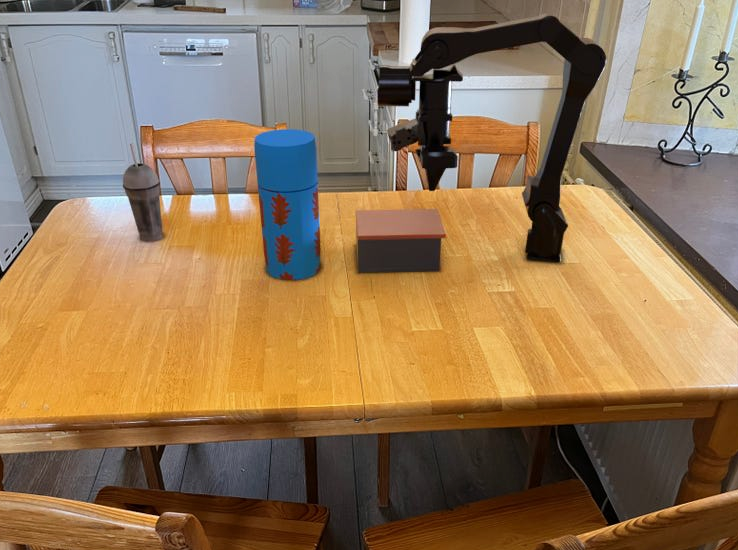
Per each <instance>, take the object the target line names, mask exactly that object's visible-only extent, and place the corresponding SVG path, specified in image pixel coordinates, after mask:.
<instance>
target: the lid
mask: <svg viewBox="0 0 738 550" xmlns="http://www.w3.org/2000/svg"><path fill="white" fill-rule="evenodd" d="M356 222H357V235H358V240H364V239H424V238H441V239H446V237H447V233H446V231H445V228H444V224H443V221H442V219H441V216H440V212H439V210H438V208H418V209H417V208H416V209H415V208H412V209H356V210H355V223H356Z"/></svg>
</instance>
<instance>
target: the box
mask: <svg viewBox="0 0 738 550" xmlns="http://www.w3.org/2000/svg"><path fill="white" fill-rule="evenodd" d="M355 246H356V260H357V273H358V274H368V273H369V274H371V273H375V274H376V273H417V272H419V273H421V272H440V266H441V253H442V252H441V250H442V238H424V239H364V240H358V235H357V222H356V221H355Z"/></svg>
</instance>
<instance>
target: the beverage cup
mask: <svg viewBox="0 0 738 550" xmlns="http://www.w3.org/2000/svg"><path fill="white" fill-rule="evenodd" d="M129 146H130V149H131V150H130V151H131V155H132V160H133V163H134V164H131V165H130V166H128V167H127V168H126V169H125V171H124V173H123V176H122V188H123V190H124V192H125V195H126V197H127V199H128V203H129V205H130V208H131V212H132V215H133V218H134V222H135V226H136V229H137V232H138V234H139V238H140V241H143V242H155V241H158V240H160V239H162V238H163V222H162V211H161V210H162V209H161V200H160V190H161V189H160V187H161V185H160V184H161V182H160V180H159V177H158V174H157V173H156V171H155V170H154V169H153V168H152V167H150V166H149V165H147V164H145V163H141V162H140V163H138V161H137V157H136V153H135V149H134V144H133V143H131V142H130V143H129Z"/></svg>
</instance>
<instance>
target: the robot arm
mask: <svg viewBox="0 0 738 550" xmlns="http://www.w3.org/2000/svg"><path fill="white" fill-rule="evenodd" d="M537 43H546V44H547V45H549V47H551V48H552V49H553V50H554V51H555V52H557V53H558V54H559V55H560V56H561V57H562V58H563V59H564V62H563V69H562V88H561V89H562V90H561V96H560V99H559V103H558V105H557V110H556V112H555V116H554V120H553V123H552V126H551V129H550V134H549V137H548V140H547V143H546V147H545V150H544V154H543V157H542V161H541V163H540V164H541V165H540V166H539V169H538V171H537V172H536V173H535V175H534V176H532V175H530V174H528V175H527V176H526V181H525V187H524V189H523V191H522V192H521V196H522V201H523V203H524V207H525V210H526V213H527V217H528V218H529V220H530V221H531V227H530V228H529V229H528V228H527V234H526V242H525V249H524V252H525V254H526V260H529V261H538V262H548V263H556V264H557V263H561V261H562V249H563V248H562V247H563V242H564V236H565V233H566V231H567V229H568V228H569V224H568V222H567V219H566V217H565V214H564V211H563V208H562V207H561V206H560V202H561V193H562V192H561V191H562V176H563V173H564V169H565V166H566V163H567V160H568V157H569V154H570V150H571V148H572V145H573V141H574V138H575V134H576V132H577V129H578V125H579V122H580V118H581V115H582V112H583V109H584V106H585V103H586V100H587V99H588V97H589V96H590V94H591V93H592V92H593V90H594V89H595V87H596V85H597V84H598V82H599V80H600V78H601V76H602V74H603V72H604V70H605V68H606V64H607V55H606V52H605V51H604V49H603V48H602V46H600V45H599V44H598V43H597V42H596V41H595V40H594V39H593V38H590V37H579V36H577V35H576V34H575V33H574V32H573V31H572V30H571V29H570V28H568V27H567V26H566V25H565V24H563V23H562V22H561V20H559V18H558V17H557V16H556V15H555V14H554V13H551V12H543V13H541V14H539V15H537V16H531V17H526V18H520V19H515V20H510V21H504V22H499V23H494V24H489V25H484V26H478V27H471V28H470V27H469V28H467V27H455V26H451V27H450V26H447V27H445V26H441V27H439V26H437V27H433V28H430V29H429V30H428V31H426V32H425V33H424V35H423V37H422V38H421V42H420V50H419V52H418V53H417V54H416V55H415V56H414V58H413V59H412V61H411V63H410V65H389V64H380V65H379V67H378V85H377V88H376V89H377V90H376V92H377V93H376V96H377V97H376V98H377V99H376V100H377V107H410V104H412V103H413V102H412V101H416V91H417V82H419V94H418V96H419V97H418V109H417V110H416V111H415V118H412V119H409V120H407V121H406V120H405V121H403V122H400V123H399V124H396V125H393V126H391V127H389V128H388V129H386V132H387V137H388V139H389V142H390V144H391V147H392V150H393V152H399V151H402V150H403V149H404V148H407V147H409V146H412V145H415V144H416V143H417V146H418V147H419V148H416V149H415V150H414V151H415V153H416V156H417V159H418V162H419V163H420V166H421V168H422V169H424V171H425V177H426V183H427V190H428V191H429V192H435V191H436V189H437V187H438V185H439V183H440V181H441V180H442V178H443V175H444V173H445V171H446V170H447V169H456V168H458V161H459V156H458V154H457V153H456V151H455V150H454V148H453V147H451V144H452V137H451V136H450V133H451V131H450V130H451V128H450V127H451V122H453V114H452V112H451V111H452V91H453V82H457V83H458V82H460V83H461V82H463V81H464V74H463V73H462V72H461V71H460V70H459V69H458V68H457V65H456V64H458V63H460V62H462V61H464V60H466V59H468V58H470V57H473V56H476V55H479V54H484V53H489V52H495V51H499V50H506V49H512V48H515V47H516V48H517V47H522V46H528V45H532V44H537ZM450 66H451V67H450ZM447 67H450V68H448V69H444V68H447ZM430 71H432V73H429V72H430Z"/></svg>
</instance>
